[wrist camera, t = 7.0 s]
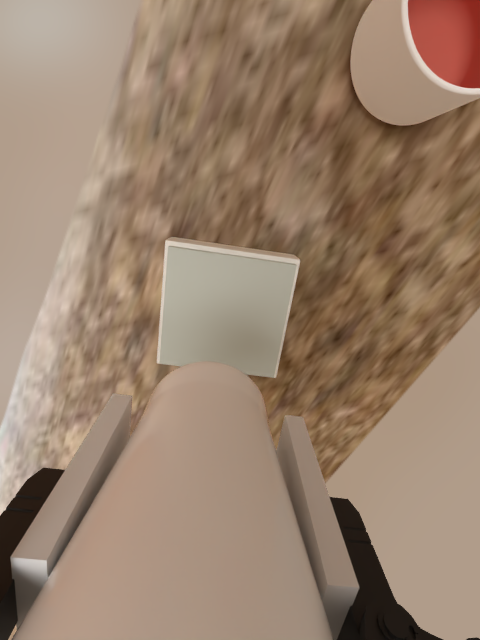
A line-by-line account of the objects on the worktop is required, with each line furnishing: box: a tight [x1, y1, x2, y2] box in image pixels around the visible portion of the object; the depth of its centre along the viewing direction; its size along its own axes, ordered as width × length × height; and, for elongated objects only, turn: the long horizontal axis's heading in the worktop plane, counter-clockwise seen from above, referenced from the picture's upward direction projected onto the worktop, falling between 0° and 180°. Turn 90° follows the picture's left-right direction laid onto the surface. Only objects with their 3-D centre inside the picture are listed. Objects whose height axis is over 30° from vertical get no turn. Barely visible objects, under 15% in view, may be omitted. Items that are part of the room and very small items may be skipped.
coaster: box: [157, 237, 300, 378], centre depth 33 cm, size 12×12×4 cm
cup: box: [350, 0, 480, 126], centre depth 23 cm, size 10×10×10 cm
